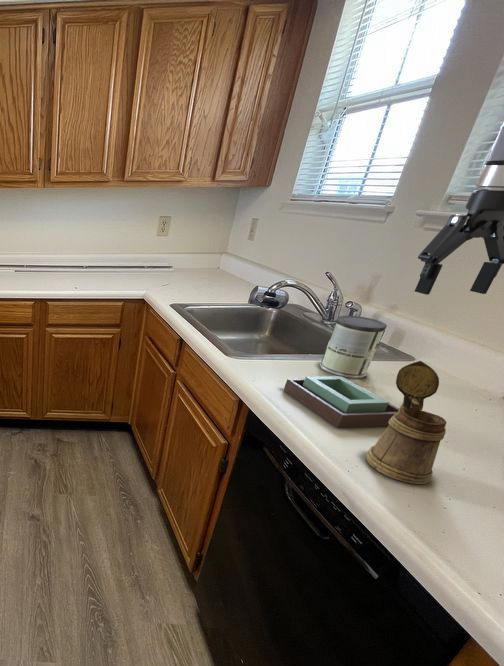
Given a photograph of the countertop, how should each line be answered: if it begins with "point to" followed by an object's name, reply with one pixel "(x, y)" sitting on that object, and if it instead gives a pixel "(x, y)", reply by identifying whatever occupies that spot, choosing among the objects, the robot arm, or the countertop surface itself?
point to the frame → (344, 395)
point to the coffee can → (352, 346)
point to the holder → (335, 415)
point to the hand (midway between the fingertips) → (449, 292)
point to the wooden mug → (410, 430)
